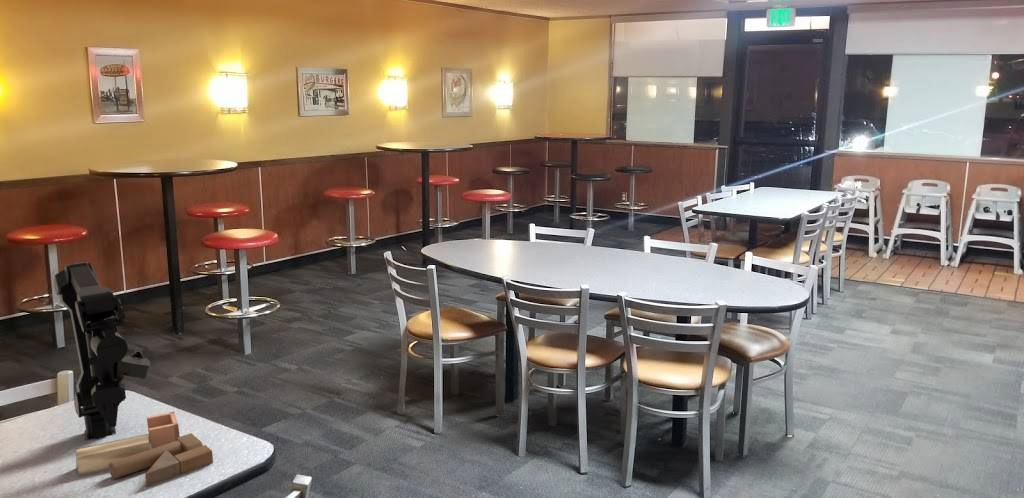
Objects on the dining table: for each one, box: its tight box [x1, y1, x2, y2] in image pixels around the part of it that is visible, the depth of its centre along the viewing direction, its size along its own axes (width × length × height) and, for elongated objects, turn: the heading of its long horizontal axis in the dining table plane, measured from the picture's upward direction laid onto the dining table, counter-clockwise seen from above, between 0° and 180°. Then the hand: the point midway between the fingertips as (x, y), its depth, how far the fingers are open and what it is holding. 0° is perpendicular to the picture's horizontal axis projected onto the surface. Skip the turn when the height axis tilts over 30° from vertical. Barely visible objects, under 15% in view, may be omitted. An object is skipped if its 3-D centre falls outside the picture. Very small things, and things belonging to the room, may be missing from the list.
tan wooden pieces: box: [108, 432, 214, 488], centre depth 166 cm, size 4×11×18 cm
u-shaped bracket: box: [146, 411, 181, 449], centre depth 180 cm, size 8×6×5 cm
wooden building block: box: [77, 434, 150, 475], centre depth 170 cm, size 4×14×4 cm, turn 119°
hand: (112, 418), depth 168 cm, fingers open, 9 cm apart
